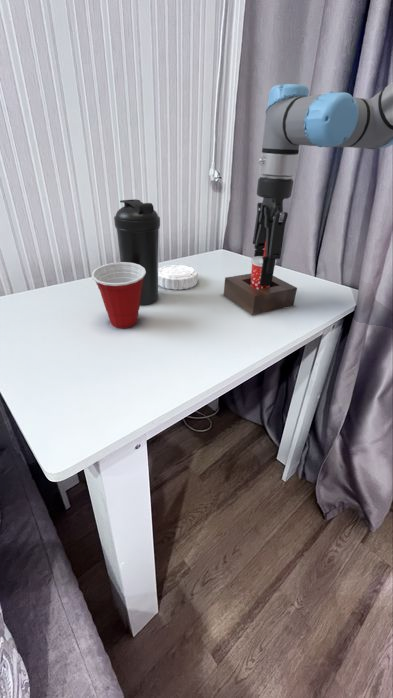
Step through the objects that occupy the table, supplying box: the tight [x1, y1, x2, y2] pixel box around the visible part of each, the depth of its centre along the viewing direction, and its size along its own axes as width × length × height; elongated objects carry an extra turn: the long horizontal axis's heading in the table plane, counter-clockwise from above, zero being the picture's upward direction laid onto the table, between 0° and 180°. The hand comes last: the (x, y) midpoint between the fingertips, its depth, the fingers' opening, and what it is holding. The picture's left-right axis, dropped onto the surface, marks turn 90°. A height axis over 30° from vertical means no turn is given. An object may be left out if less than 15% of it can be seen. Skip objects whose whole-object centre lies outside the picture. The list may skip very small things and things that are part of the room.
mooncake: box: [158, 264, 199, 291], centre depth 94 cm, size 12×12×4 cm
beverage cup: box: [250, 242, 277, 290], centre depth 82 cm, size 6×6×14 cm
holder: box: [223, 273, 298, 316], centre depth 85 cm, size 13×13×5 cm
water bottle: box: [113, 198, 161, 306], centre depth 79 cm, size 10×10×23 cm
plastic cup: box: [91, 261, 146, 329], centre depth 70 cm, size 11×11×12 cm
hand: (261, 279), depth 83 cm, fingers closed on beverage cup, 6 cm apart
